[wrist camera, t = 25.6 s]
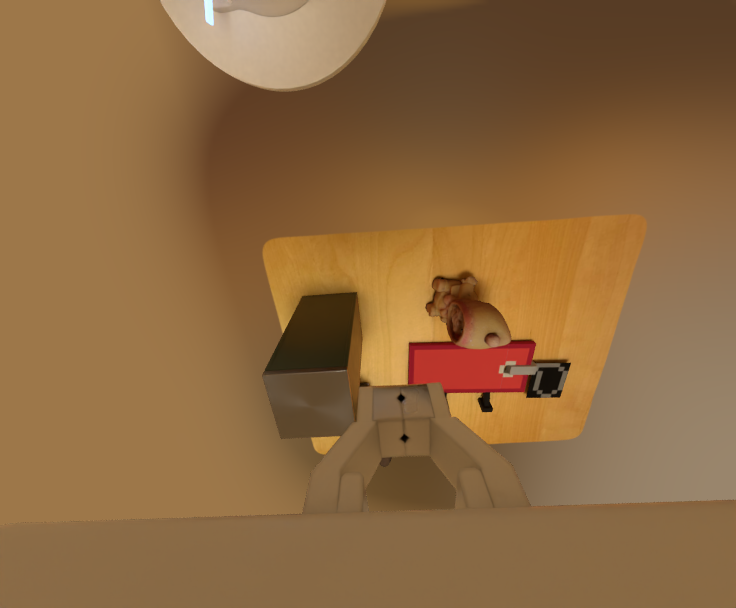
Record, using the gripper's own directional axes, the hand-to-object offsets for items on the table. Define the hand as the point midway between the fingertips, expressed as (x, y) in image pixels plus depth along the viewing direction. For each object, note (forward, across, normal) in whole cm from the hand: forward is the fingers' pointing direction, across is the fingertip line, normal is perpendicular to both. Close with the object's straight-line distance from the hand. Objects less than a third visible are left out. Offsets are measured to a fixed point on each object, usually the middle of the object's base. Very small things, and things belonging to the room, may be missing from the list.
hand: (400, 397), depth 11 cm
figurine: (+37, -12, +15) cm, 42 cm away
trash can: (+37, +10, +17) cm, 42 cm away
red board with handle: (+37, -18, +32) cm, 52 cm away
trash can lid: (+17, +10, +17) cm, 26 cm away
